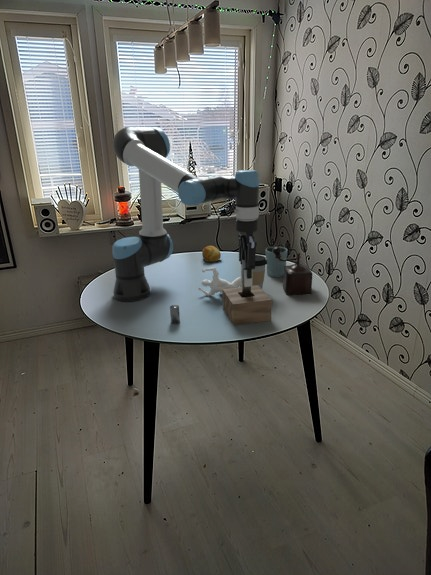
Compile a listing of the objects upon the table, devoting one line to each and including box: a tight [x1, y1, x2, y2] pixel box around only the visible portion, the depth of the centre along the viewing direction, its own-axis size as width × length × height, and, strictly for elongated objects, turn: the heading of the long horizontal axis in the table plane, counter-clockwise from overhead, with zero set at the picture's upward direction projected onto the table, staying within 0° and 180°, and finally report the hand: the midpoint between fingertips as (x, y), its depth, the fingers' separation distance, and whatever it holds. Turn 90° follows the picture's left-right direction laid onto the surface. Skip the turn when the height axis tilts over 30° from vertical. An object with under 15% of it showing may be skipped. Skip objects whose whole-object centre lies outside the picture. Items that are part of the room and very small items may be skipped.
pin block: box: [222, 285, 273, 326], centre depth 138 cm, size 14×14×8 cm
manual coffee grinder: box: [272, 246, 313, 296], centre depth 157 cm, size 16×11×18 cm
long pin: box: [242, 259, 251, 298], centre depth 134 cm, size 3×3×14 cm
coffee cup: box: [252, 254, 267, 290], centre depth 156 cm, size 9×9×15 cm
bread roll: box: [202, 245, 222, 263], centre depth 200 cm, size 13×10×8 cm
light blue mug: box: [264, 246, 289, 278], centre depth 176 cm, size 10×10×12 cm
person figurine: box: [198, 267, 242, 297], centre depth 153 cm, size 13×13×18 cm
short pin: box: [169, 304, 181, 325], centre depth 134 cm, size 3×3×6 cm
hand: (246, 284), depth 135 cm, fingers closed on long pin, 3 cm apart
